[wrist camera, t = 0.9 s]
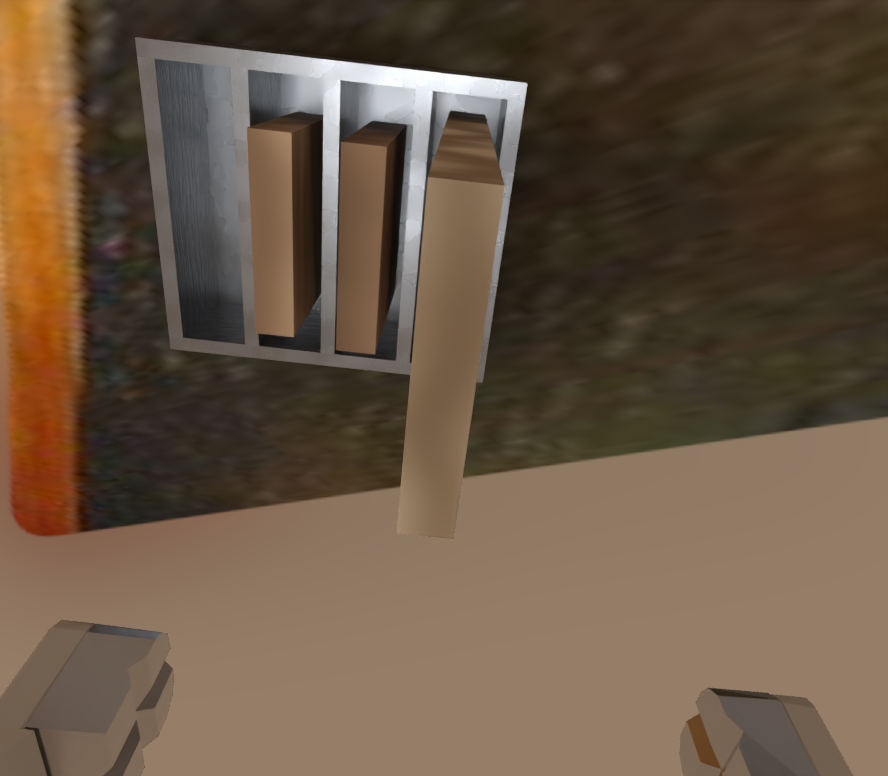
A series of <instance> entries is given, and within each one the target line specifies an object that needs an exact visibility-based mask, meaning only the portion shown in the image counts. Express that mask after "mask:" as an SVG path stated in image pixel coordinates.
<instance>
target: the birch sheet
mask: <svg viewBox="0 0 888 776" xmlns="http://www.w3.org/2000/svg"><path fill="white" fill-rule="evenodd" d="M504 187H505V185H504V181H503V178H502V174H501V170H500V167H499V163H498V159H497V156H496V152H495V149H494V145H493V141H492V138H491V134H490V130H489V127H488V123H487V120H486V116H485V114H476V113H468V112H459V111H450V113H449V116H448V119H447V122H446V125H445V127H444V130H443V133H442V136H441V139H440V142H439V145H438V148H437V151H436V154H435V157H434V160H433V163H432V166H431V169H430V172H429V175H428V181H427V192H426V203H425V215H424V226H423V238H422V249H421V260H420V272H419V283H418V295H417V306H416V318H415V329H414V340H413V352H412V363H411V375H410V386H409V398H408V409H407V420H406V432H405V443H404V455H403V466H402V478H401V489H400V500H399V512H398V524H397V533H399V534H408V535H419V536H428V537H437V538H448V539H454V533H455V526H456V519H457V512H458V505H459V498H460V492H461V484H462V478H463V471H464V464H465V457H466V450H467V443H468V436H469V429H470V423H471V416H472V409H473V402H474V395H475V388H476V381H477V374H478V367H479V360H480V353H481V346H482V340H483V333H484V326H485V319H486V312H487V305H488V298H489V291H490V284H491V277H492V270H493V263H494V257H495V250H496V243H497V236H498V229H499V222H500V215H501V208H502V201H503V194H504Z"/></svg>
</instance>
